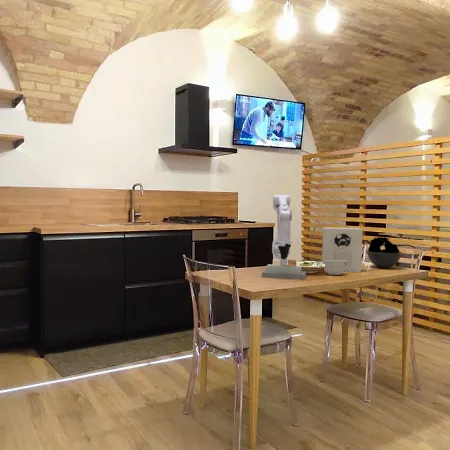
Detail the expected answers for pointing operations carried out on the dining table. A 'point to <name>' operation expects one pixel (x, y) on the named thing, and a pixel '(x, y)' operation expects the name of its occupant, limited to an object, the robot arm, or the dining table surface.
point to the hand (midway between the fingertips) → (284, 258)
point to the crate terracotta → (292, 263)
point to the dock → (284, 275)
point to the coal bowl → (383, 252)
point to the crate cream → (277, 262)
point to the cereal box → (343, 247)
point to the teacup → (335, 266)
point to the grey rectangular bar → (284, 269)
